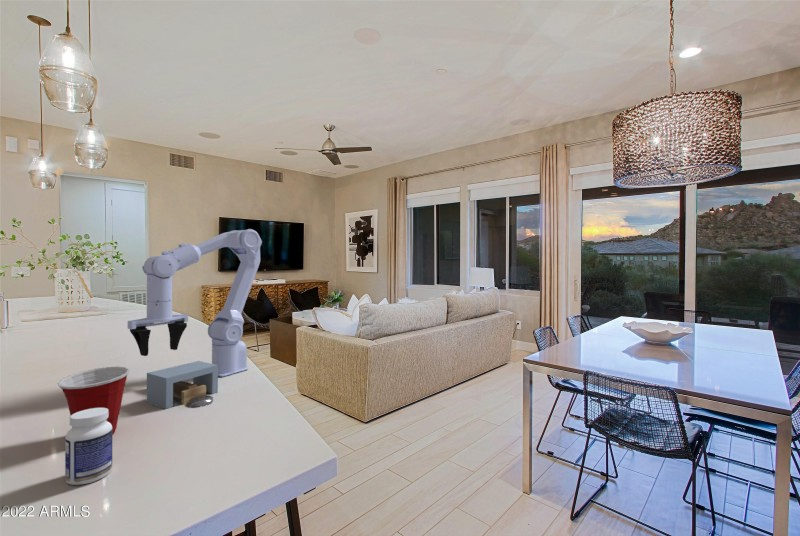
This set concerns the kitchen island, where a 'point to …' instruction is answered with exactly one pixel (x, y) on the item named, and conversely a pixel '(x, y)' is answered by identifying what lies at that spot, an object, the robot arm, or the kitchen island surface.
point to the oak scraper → (187, 391)
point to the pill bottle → (88, 447)
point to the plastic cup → (96, 391)
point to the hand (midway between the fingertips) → (159, 352)
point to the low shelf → (164, 379)
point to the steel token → (200, 401)
